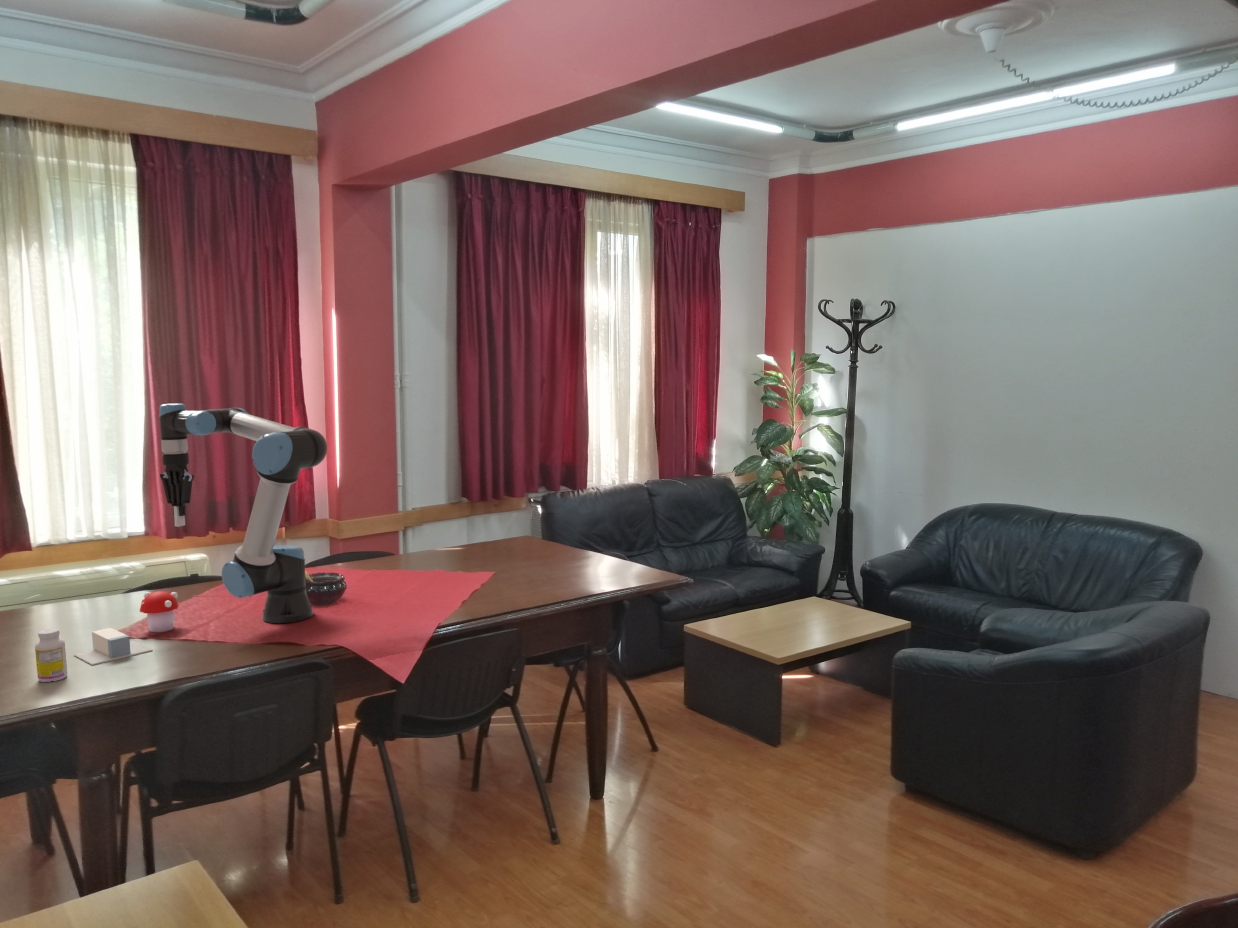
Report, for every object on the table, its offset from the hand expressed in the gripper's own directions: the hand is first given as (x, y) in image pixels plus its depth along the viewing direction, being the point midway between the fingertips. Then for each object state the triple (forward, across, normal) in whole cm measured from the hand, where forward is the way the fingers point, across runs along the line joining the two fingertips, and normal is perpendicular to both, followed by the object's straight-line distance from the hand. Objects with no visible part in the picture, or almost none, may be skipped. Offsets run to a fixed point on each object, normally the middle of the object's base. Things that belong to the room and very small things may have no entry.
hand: (180, 525), depth 296 cm
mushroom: (+30, -6, +14) cm, 33 cm away
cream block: (+27, -6, +34) cm, 43 cm away
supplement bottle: (+30, -18, +56) cm, 66 cm away
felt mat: (+29, -14, +36) cm, 48 cm away
